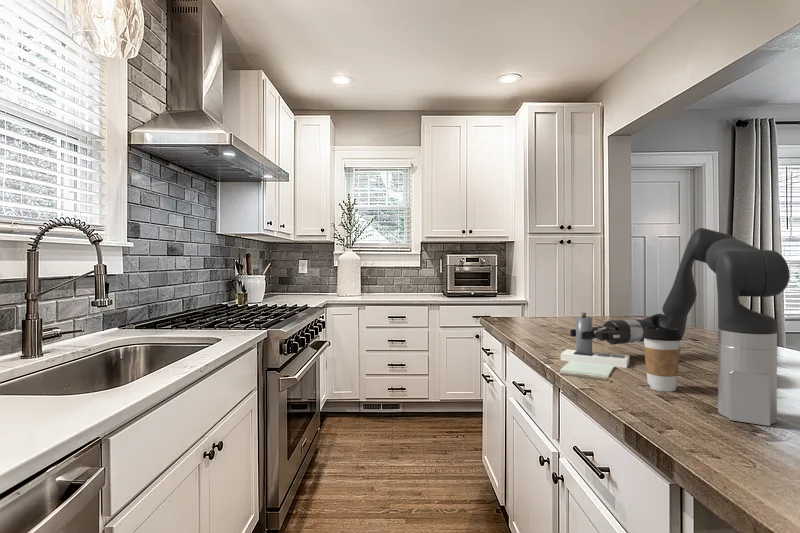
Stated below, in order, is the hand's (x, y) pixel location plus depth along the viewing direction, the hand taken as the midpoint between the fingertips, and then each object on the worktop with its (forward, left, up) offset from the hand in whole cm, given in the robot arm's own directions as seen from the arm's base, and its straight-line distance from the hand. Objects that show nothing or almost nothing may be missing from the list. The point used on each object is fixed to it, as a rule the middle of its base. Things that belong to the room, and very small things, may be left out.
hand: (576, 334), depth 133 cm
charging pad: (-10, -5, -9) cm, 14 cm away
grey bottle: (+2, -2, -8) cm, 8 cm away
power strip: (+2, -8, -9) cm, 12 cm away
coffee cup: (-16, -23, -9) cm, 29 cm away
